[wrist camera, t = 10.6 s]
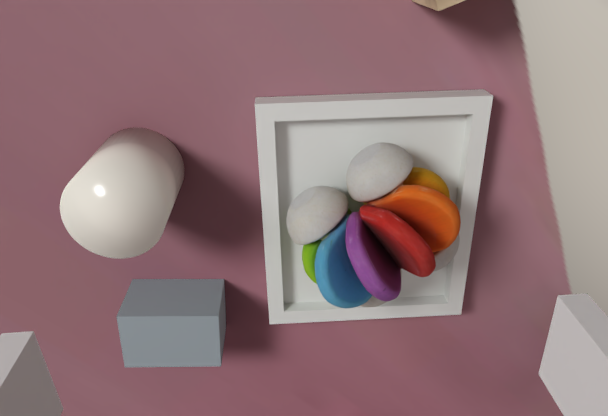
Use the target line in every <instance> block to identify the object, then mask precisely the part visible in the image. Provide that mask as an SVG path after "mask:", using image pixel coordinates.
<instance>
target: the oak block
mask: <svg viewBox="0 0 608 416" xmlns="http://www.w3.org/2000/svg"><path fill="white" fill-rule="evenodd" d="M412 1H413V2H415V3H418V4H421V5H423V6H426V7H429V8H431V9H434V10H437V11H440V10H443V9H445V8H448V7H450V6H453V5H455V4H458V3H460V2H462V1H465V0H412Z"/></svg>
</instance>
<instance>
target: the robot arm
mask: <svg viewBox="0 0 608 416" xmlns="http://www.w3.org/2000/svg"><path fill="white" fill-rule="evenodd" d="M539 376H540V377H541V379H542V381H543V382H544V384H545V386H546V387H547V389H548V391H549V392H550V394H551V395H552V397H553V399H554V400H555V402H556V404H557V405H558V407H559V409H560V410H561V412H562V414H563V415H564V416H608V316H607V315H606V314H605V313H604V312H603V310H602V309H601V308H600V307H599V306H598V305H597V304H596V302H595V301H594V300H593V299H592V298H591V297H590V296H589V294H587V293H586V294H571V295H558V297H557V301H556V305H555V309H554V313H553V317H552V321H551V326H550V330H549V334H548V338H547V342H546V346H545V350H544V354H543V358H542V362H541V366H540V370H539ZM62 411H63V407H62V404H61V401H60V399H59V396H58V394H57V391H56V388H55V386H54V383H53V381H52V378H51V375H50V373H49V370H48V368H47V365H46V362H45V360H44V357H43V355H42V352H41V349H40V347H39V344H38V342H37V339H36V336H35V334H34V331H31V332H17V333H2V334H1V336H0V416H60V415H61V413H62Z"/></svg>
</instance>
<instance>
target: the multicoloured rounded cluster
mask: <svg viewBox="0 0 608 416" xmlns="http://www.w3.org/2000/svg"><path fill="white" fill-rule="evenodd" d="M413 164H414V161H413V158H412V156H411V154H410V153H409V152H407V151H406V150H405V149H403V148H402V147H400V146H398V145H395V144H392V143H385V142H381V143H375V144H372V145H369V146H367V147H365V148H364V149H362V150H361V151H360V152H358V153H357V154H356V155H355V156H354V157H353V159H352V160H351V162H350V164H349V167H348V170H347V175H346V185H347V189H348V192H349V194H350V196H351V197H352V199H354V200H356V201H358V202H363V203H364V205H363V206H361V207H360V211H358V212H352V211H351V210H350V209H349V208H348V206H349V201H348V198H347V196H346V194H344V193H342V192H341V191H339V190H337V189H335V188H332V187H329V186H315V187H311V188H308V189H306V190H304V191H303V192H302V193H300V194H299V195H298V196H297V197H296V198H295V199H294V200H293V201H292V203H291V205H290V207H289V209H288V213H287V218H286V224H287V229H288V233H289V235H290V237H291V239H292V240H293V242H294V243H295V244H298V245H303V250H302V261H303V266H304V270H305V272H306V274H307V275H308V277H309V278H310V279H311V280H312V281H313V282H314V283H316V284H317V285H318V288H319V290H320V292H321V294H322V296H323V297H324V298H325V300H326V301H327V302H329V303H330V304H332V305H334V306H337V307H340V308H354V307H358V306H362V307H376V306H380V305H382V304H384V303H386V302H387V301H391V300H394V299H395V298H397V297H398V295H399V294H400V291H401V278H402V270H401V269H404V270H406V271H408V272H410V273H412V274H414V275H416V276H419V277H427V276H429V275H430V274H431V273H432V272H433V271H437V270H439V269H441V268H443V267H445V266H446V265H448V264H449V263H450V262H451V261H452V259H453V258H454V256H455V255H456V253H457V251H458V247H459V242H460V237H459V231H460V224H461V220H460V213H459V210H458V207H457V206H456V204H455V203H454V202H453V201H452V200H451V199H450V193H449V189H448V187H447V185H446V183H445V182H444V180H443V179H442V178H441V177H440V176H439V175H437V174H436V173H434V172H433V171H431V170H428V169H425V168H420V167H413Z"/></svg>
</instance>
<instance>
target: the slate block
mask: <svg viewBox="0 0 608 416" xmlns="http://www.w3.org/2000/svg"><path fill="white" fill-rule="evenodd" d="M117 322H118V328H119V335H120V341H121V347H122V353H123V359H124V365H125V367H199V366H221V363H222V355H223V347H224V340H225V332H226V309H225V286H224V279H133V280H132V282H131V284H130V287H129V289H128V291H127V294H126V296H125V298H124V301H123V303H122V305H121V307H120V310H119V312H118V314H117Z"/></svg>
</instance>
